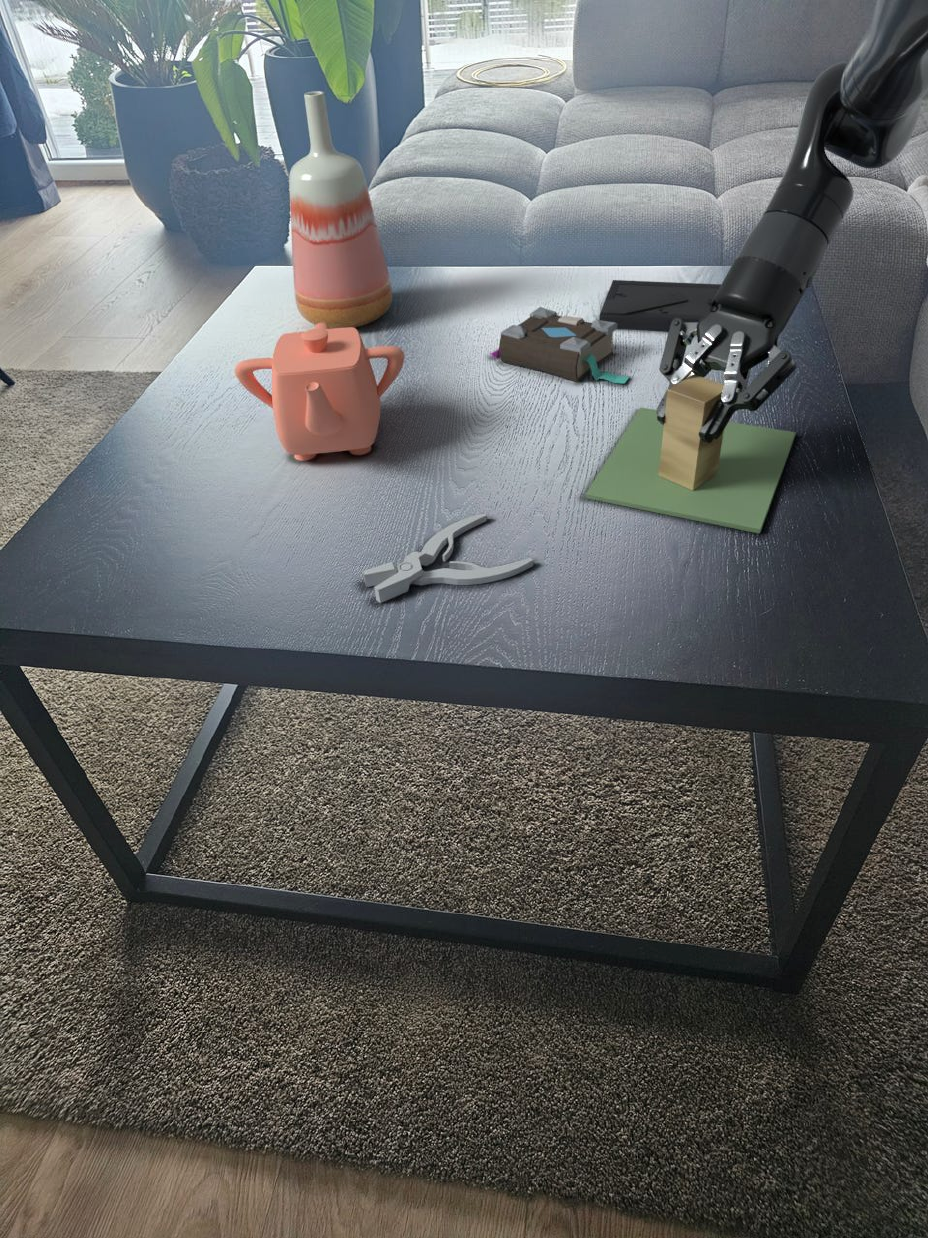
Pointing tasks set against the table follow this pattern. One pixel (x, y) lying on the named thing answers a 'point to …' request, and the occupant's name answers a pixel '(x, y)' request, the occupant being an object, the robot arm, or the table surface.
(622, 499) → the mat
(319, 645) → the table surface
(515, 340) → the book
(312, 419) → the teapot
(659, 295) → the picture frame
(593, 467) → the table surface
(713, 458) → the block
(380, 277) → the vase
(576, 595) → the table surface
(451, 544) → the pliers
